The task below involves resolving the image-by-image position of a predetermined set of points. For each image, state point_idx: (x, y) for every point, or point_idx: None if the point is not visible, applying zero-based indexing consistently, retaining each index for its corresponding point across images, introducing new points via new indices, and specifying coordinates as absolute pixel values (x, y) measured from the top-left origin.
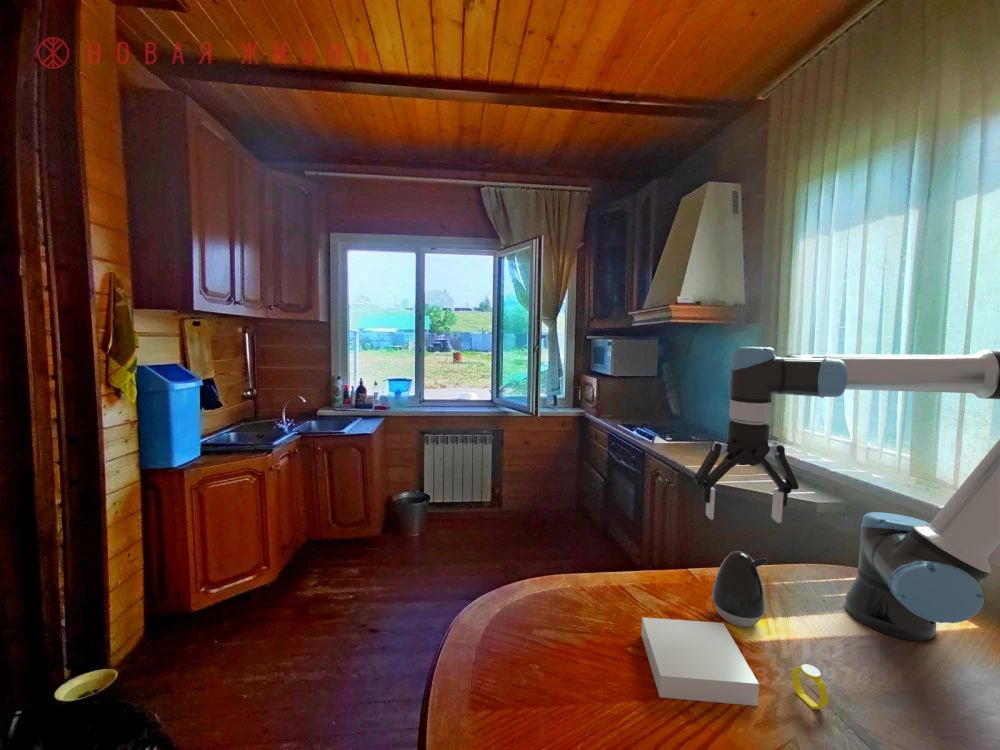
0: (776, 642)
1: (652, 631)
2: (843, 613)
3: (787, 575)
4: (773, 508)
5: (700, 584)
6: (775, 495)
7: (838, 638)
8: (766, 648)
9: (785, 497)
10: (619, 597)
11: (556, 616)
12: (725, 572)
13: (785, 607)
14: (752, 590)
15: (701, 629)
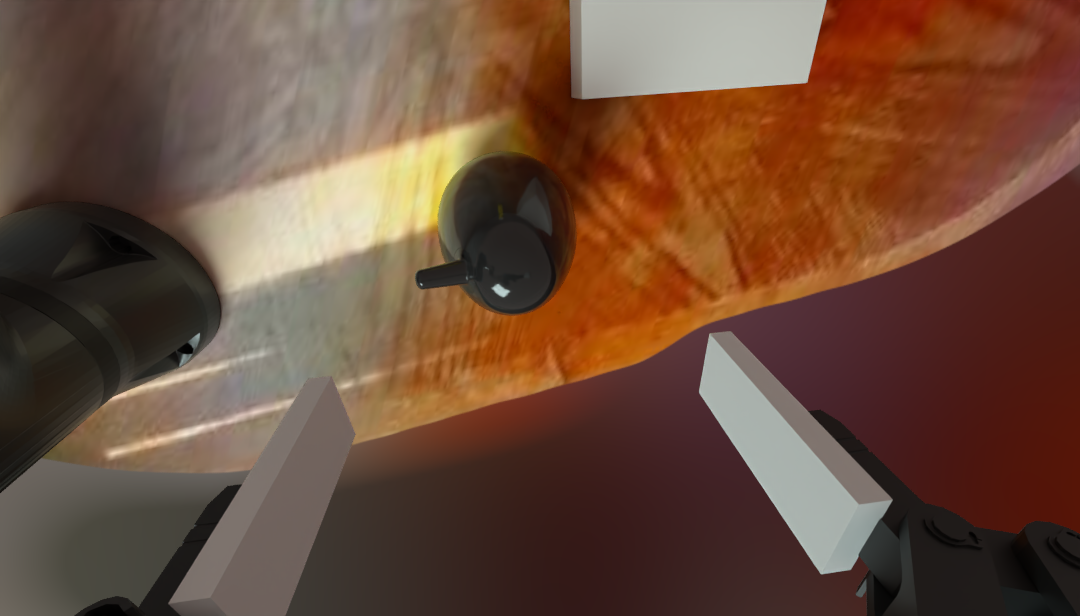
0: (430, 123)
1: (808, 7)
2: (230, 288)
3: None
4: (328, 476)
5: (553, 333)
6: (276, 574)
7: (263, 175)
8: (463, 89)
9: (186, 561)
10: (764, 240)
11: (949, 126)
12: (566, 233)
13: (371, 283)
14: (486, 183)
15: (659, 48)
